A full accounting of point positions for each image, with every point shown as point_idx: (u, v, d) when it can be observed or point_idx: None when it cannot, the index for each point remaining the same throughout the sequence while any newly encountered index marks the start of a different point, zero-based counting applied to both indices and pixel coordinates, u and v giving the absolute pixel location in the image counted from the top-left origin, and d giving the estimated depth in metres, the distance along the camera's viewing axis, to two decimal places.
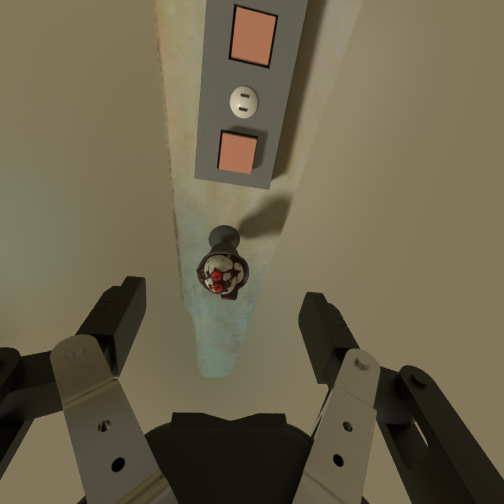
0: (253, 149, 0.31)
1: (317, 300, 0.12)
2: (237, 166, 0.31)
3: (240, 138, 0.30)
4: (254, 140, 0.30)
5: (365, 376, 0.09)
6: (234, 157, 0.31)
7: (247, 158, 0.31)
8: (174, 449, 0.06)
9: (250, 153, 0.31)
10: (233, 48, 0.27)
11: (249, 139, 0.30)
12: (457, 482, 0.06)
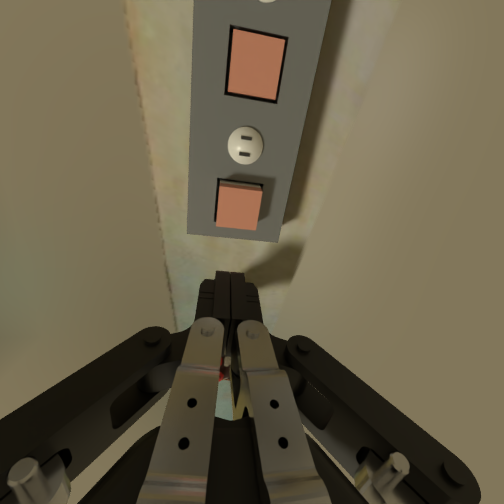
0: (258, 202, 0.24)
1: (235, 279, 0.12)
2: (239, 223, 0.25)
3: (242, 190, 0.24)
4: (259, 192, 0.24)
5: (249, 343, 0.09)
6: (235, 212, 0.25)
7: (251, 213, 0.25)
8: None
9: (254, 207, 0.25)
10: (230, 81, 0.21)
11: (253, 191, 0.24)
12: (364, 426, 0.07)
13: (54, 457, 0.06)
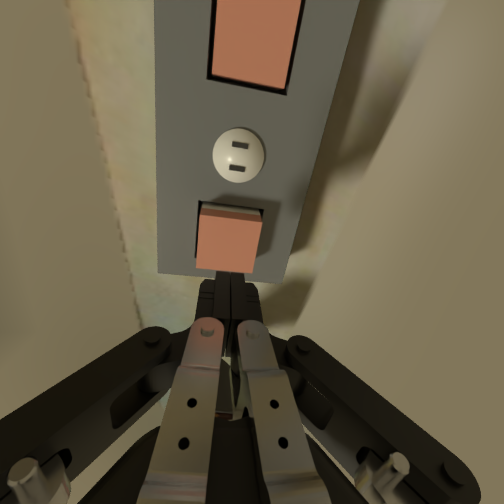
0: (256, 237, 0.17)
1: (235, 279, 0.12)
2: (228, 263, 0.18)
3: (232, 221, 0.16)
4: (258, 223, 0.17)
5: (249, 343, 0.09)
6: (223, 250, 0.17)
7: (245, 251, 0.18)
8: None
9: (250, 243, 0.17)
10: (215, 58, 0.13)
11: (249, 222, 0.17)
12: (364, 426, 0.07)
13: (54, 457, 0.06)
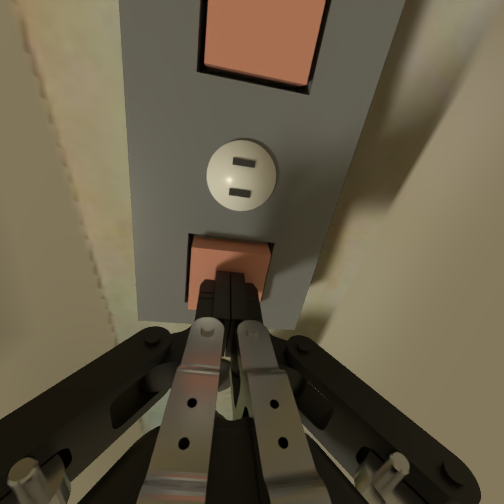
0: (263, 273, 0.14)
1: (235, 279, 0.12)
2: None
3: (233, 254, 0.13)
4: (265, 257, 0.13)
5: (249, 343, 0.09)
6: None
7: None
8: None
9: (255, 280, 0.14)
10: (209, 40, 0.09)
11: (254, 255, 0.13)
12: (363, 426, 0.07)
13: (54, 457, 0.06)
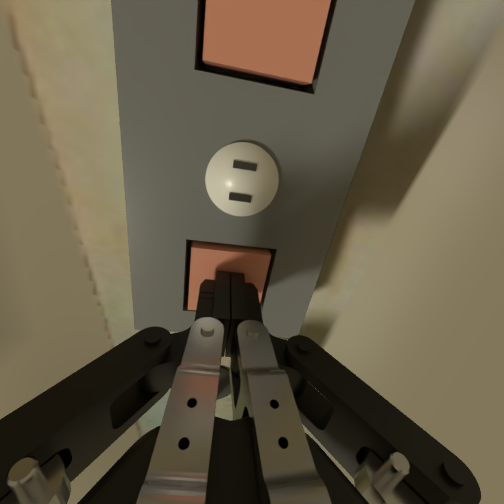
0: (263, 273, 0.14)
1: (235, 279, 0.12)
2: None
3: (233, 255, 0.13)
4: (265, 257, 0.13)
5: (249, 343, 0.09)
6: None
7: None
8: None
9: (255, 280, 0.14)
10: (208, 35, 0.09)
11: (254, 256, 0.13)
12: (364, 426, 0.07)
13: (54, 457, 0.06)
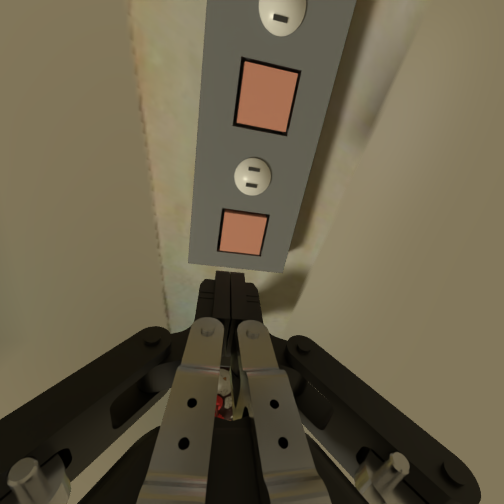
0: (262, 228, 0.25)
1: (235, 279, 0.12)
2: (242, 247, 0.26)
3: (246, 217, 0.24)
4: (264, 218, 0.24)
5: (249, 343, 0.09)
6: (239, 237, 0.25)
7: (255, 238, 0.25)
8: None
9: (258, 232, 0.25)
10: (239, 113, 0.20)
11: (257, 218, 0.24)
12: (364, 426, 0.07)
13: (54, 457, 0.06)
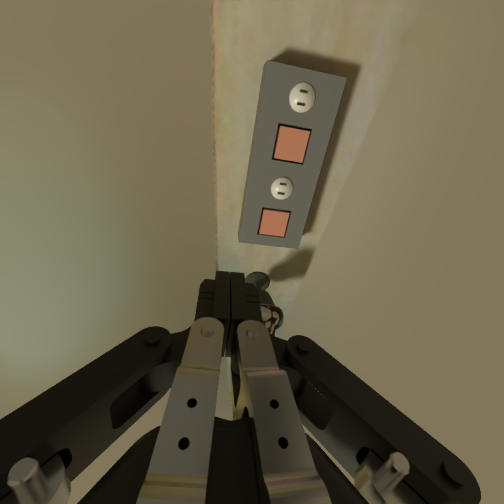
0: (286, 219, 0.40)
1: (235, 279, 0.12)
2: (273, 231, 0.40)
3: (277, 212, 0.39)
4: (287, 213, 0.39)
5: (249, 343, 0.09)
6: (272, 225, 0.40)
7: (281, 226, 0.40)
8: None
9: (284, 222, 0.40)
10: (276, 153, 0.35)
11: (284, 213, 0.39)
12: (363, 426, 0.07)
13: (54, 457, 0.06)
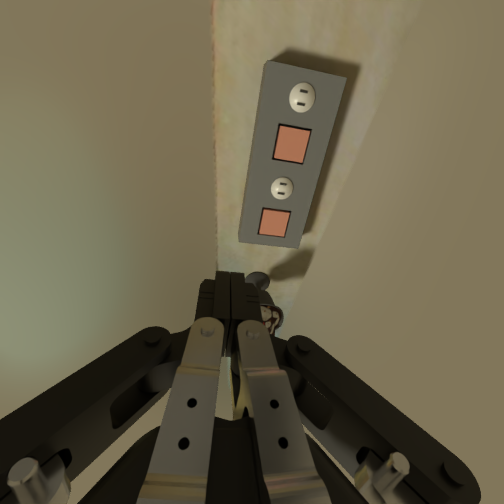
0: (286, 219, 0.40)
1: (235, 279, 0.13)
2: (273, 231, 0.41)
3: (277, 212, 0.39)
4: (287, 213, 0.39)
5: (249, 343, 0.09)
6: (272, 225, 0.40)
7: (281, 225, 0.40)
8: None
9: (284, 222, 0.40)
10: (276, 153, 0.35)
11: (284, 213, 0.39)
12: (364, 426, 0.07)
13: (54, 457, 0.06)
